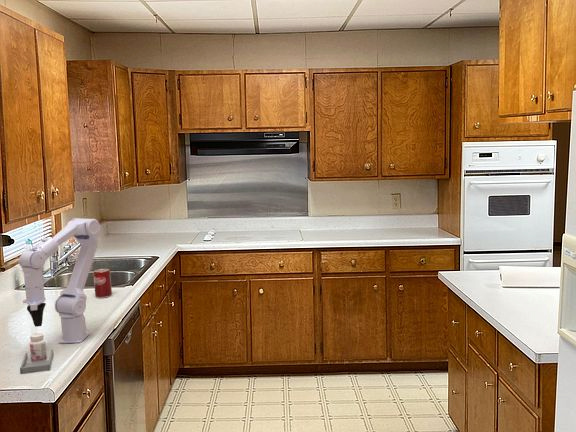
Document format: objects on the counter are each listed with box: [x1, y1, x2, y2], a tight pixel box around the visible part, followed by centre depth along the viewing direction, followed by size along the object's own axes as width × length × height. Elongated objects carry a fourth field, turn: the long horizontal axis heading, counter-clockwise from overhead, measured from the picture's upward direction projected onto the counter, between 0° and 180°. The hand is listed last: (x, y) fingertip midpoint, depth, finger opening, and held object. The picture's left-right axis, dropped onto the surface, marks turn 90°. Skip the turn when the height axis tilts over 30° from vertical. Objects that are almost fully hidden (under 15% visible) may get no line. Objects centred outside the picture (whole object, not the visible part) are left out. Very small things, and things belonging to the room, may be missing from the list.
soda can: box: [92, 268, 113, 299], centre depth 295 cm, size 7×7×12 cm
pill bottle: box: [29, 332, 47, 362], centre depth 215 cm, size 5×5×8 cm
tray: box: [19, 349, 55, 375], centre depth 211 cm, size 15×9×2 cm, turn 15°
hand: (38, 325), depth 221 cm, fingers closed
